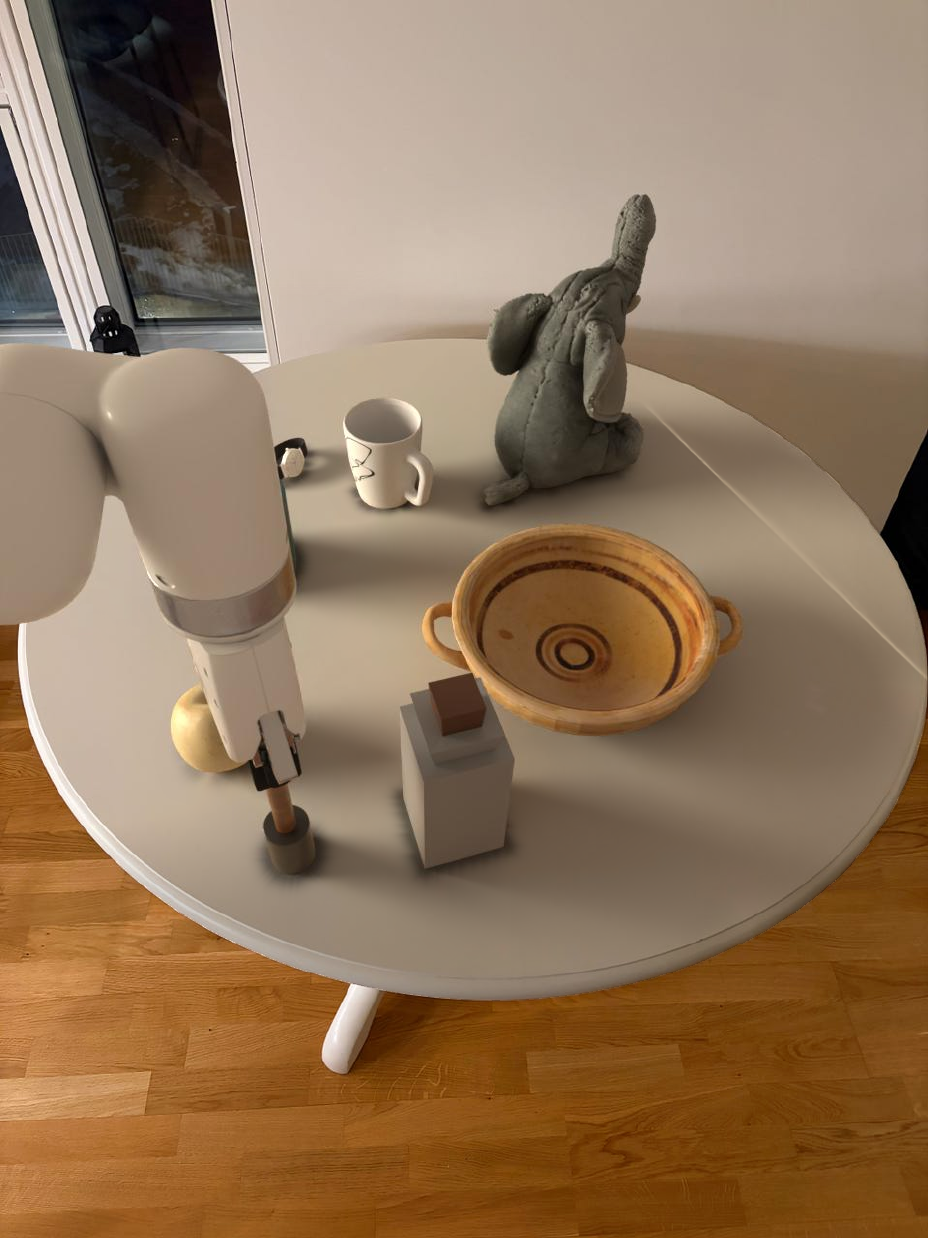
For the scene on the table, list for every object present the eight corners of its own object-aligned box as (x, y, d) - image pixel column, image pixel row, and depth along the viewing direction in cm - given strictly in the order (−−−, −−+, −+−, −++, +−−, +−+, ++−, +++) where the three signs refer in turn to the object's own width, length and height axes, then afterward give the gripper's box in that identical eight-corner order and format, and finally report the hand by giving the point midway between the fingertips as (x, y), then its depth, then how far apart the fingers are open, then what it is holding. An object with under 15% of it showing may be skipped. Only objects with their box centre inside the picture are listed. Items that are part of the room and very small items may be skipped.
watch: (279, 495, 103) (275, 470, 100) (246, 481, 104) (241, 456, 101) (318, 458, 107) (315, 433, 104) (286, 445, 109) (282, 421, 106)
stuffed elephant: (617, 399, 117) (655, 186, 97) (650, 506, 103) (704, 285, 83) (470, 402, 116) (478, 187, 95) (484, 511, 102) (497, 287, 81)
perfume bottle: (403, 799, 77) (397, 669, 64) (478, 779, 79) (487, 648, 65) (424, 869, 73) (423, 746, 59) (503, 847, 74) (519, 722, 61)
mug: (456, 504, 102) (458, 432, 95) (403, 540, 98) (401, 468, 91) (387, 458, 108) (384, 387, 100) (334, 491, 103) (326, 419, 96)
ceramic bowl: (696, 574, 96) (713, 518, 90) (758, 769, 80) (785, 717, 74) (419, 580, 94) (418, 524, 88) (426, 781, 78) (426, 729, 72)
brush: (279, 882, 72) (239, 742, 57) (265, 844, 74) (223, 700, 59) (321, 864, 73) (293, 722, 58) (306, 828, 75) (275, 682, 60)
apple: (203, 805, 76) (150, 739, 72) (202, 755, 83) (154, 693, 79) (285, 758, 76) (237, 691, 73) (277, 713, 83) (232, 649, 80)
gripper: (120, 501, 53) (185, 690, 66) (196, 710, 43) (253, 880, 57) (245, 467, 55) (282, 657, 69) (343, 658, 45) (364, 834, 59)
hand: (269, 756), depth 63 cm, fingers open, 3 cm apart
